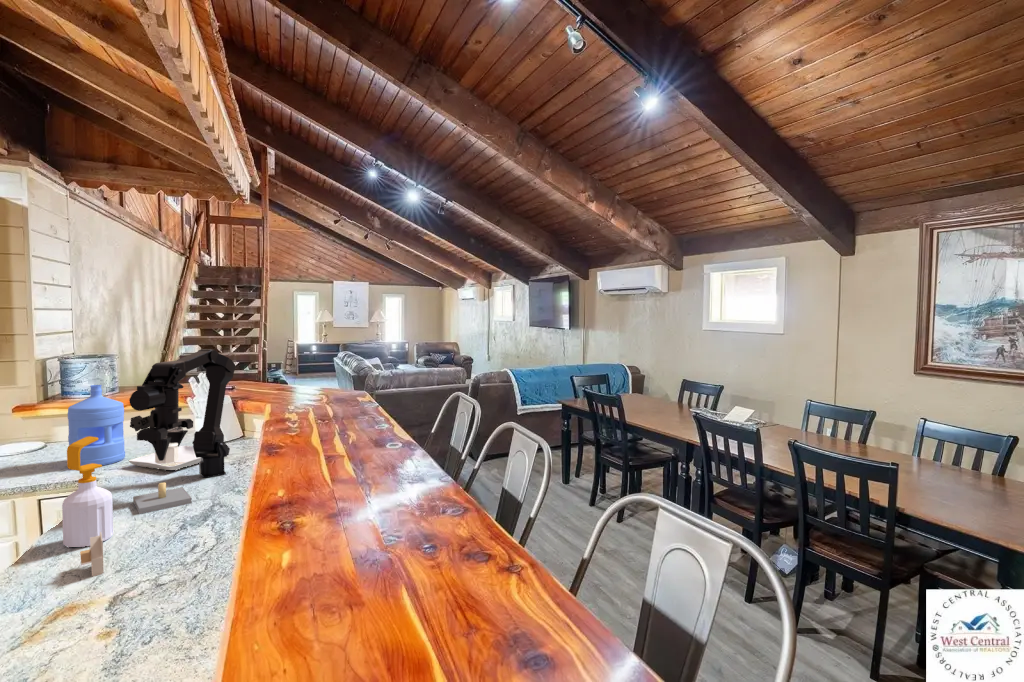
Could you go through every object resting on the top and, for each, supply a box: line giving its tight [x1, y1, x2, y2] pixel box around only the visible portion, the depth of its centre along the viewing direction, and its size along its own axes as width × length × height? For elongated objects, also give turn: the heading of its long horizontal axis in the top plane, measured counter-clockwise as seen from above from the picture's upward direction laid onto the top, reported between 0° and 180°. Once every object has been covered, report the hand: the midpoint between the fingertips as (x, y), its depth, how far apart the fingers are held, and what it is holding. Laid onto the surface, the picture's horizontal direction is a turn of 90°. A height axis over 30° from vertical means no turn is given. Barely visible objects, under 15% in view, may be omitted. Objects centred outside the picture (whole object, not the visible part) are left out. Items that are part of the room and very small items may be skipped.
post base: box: [132, 482, 192, 515], centre depth 141 cm, size 12×12×6 cm
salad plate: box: [128, 444, 201, 471], centre depth 179 cm, size 21×21×3 cm
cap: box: [154, 442, 178, 464], centre depth 145 cm, size 5×5×5 cm
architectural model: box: [79, 532, 104, 577], centre depth 103 cm, size 3×7×7 cm, turn 43°
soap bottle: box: [61, 436, 114, 548], centre depth 116 cm, size 9×9×25 cm
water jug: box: [67, 384, 126, 467], centre depth 178 cm, size 16×16×28 cm
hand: (166, 457), depth 145 cm, fingers closed on cap, 5 cm apart
